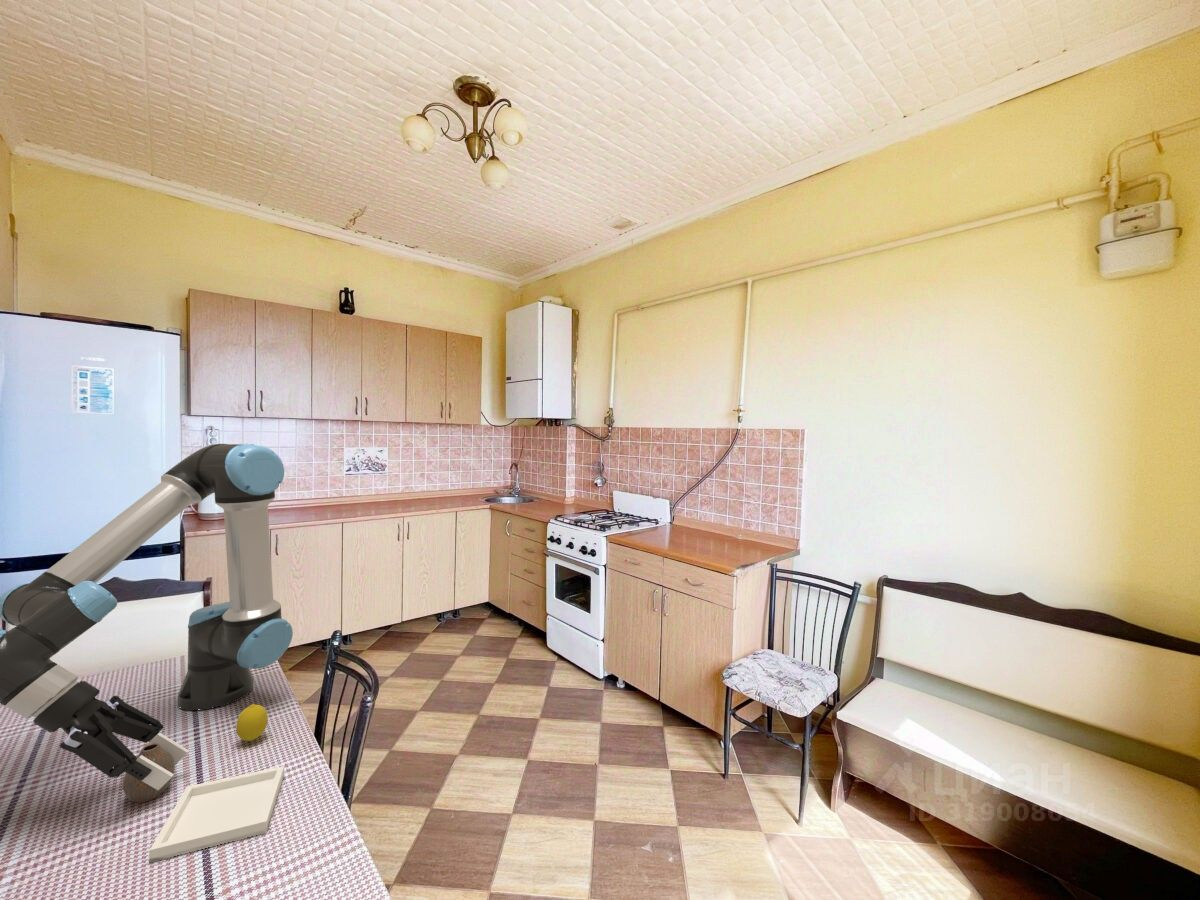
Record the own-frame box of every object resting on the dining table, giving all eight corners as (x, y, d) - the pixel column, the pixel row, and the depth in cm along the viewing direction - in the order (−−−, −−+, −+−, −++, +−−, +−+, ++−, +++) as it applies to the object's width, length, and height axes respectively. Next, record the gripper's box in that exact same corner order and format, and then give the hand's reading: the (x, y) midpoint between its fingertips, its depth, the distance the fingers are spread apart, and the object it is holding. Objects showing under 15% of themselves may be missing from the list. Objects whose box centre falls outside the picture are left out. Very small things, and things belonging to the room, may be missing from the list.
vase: (129, 814, 82) (130, 764, 82) (117, 798, 86) (118, 750, 86) (180, 791, 88) (181, 743, 88) (166, 776, 92) (167, 731, 92)
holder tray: (186, 797, 87) (186, 786, 87) (283, 776, 93) (284, 765, 93) (149, 863, 73) (149, 850, 73) (266, 833, 79) (266, 821, 79)
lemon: (250, 750, 100) (251, 713, 100) (229, 747, 101) (230, 709, 101) (273, 735, 106) (274, 699, 106) (252, 732, 107) (253, 696, 107)
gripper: (69, 690, 90) (177, 756, 97) (-10, 751, 72) (129, 826, 79) (107, 658, 92) (210, 724, 99) (40, 709, 74) (171, 785, 81)
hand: (174, 769), depth 89 cm, fingers closed on vase, 7 cm apart
